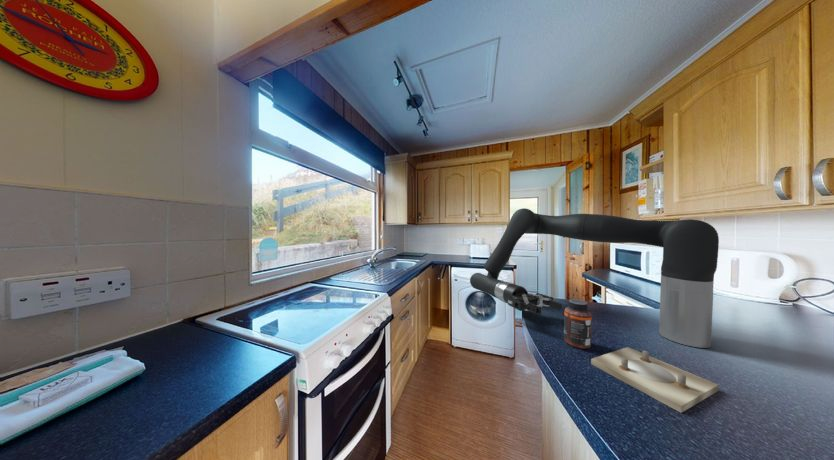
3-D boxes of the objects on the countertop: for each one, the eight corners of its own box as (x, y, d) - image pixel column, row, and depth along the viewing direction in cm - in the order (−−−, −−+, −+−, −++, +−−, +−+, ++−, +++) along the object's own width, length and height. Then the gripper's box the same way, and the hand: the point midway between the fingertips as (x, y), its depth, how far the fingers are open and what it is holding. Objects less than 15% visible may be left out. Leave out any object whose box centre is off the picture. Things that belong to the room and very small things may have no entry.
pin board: (627, 351, 56) (627, 339, 56) (718, 390, 43) (718, 374, 42) (591, 364, 51) (591, 350, 50) (681, 413, 38) (681, 394, 37)
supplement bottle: (596, 351, 56) (597, 306, 55) (569, 348, 57) (570, 304, 57) (583, 339, 62) (584, 298, 61) (559, 336, 63) (560, 297, 62)
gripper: (494, 285, 79) (533, 299, 64) (525, 281, 84) (567, 294, 69) (494, 306, 79) (533, 325, 64) (525, 301, 84) (567, 318, 69)
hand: (550, 309), depth 66 cm, fingers open, 8 cm apart
